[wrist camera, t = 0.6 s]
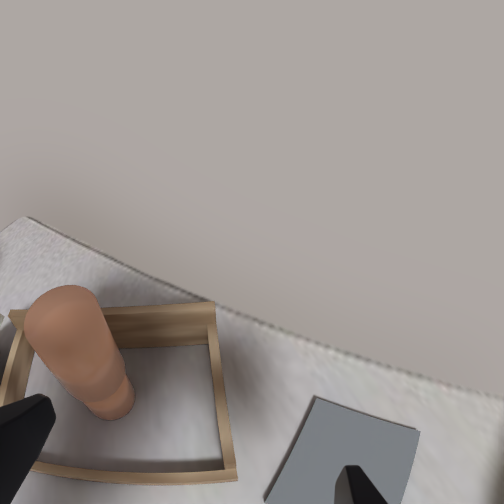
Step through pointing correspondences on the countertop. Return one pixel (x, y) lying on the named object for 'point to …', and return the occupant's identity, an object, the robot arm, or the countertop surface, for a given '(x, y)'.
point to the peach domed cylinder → (80, 350)
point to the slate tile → (345, 456)
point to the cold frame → (137, 336)
